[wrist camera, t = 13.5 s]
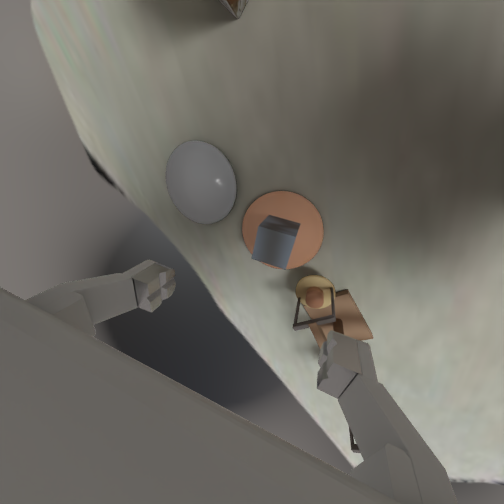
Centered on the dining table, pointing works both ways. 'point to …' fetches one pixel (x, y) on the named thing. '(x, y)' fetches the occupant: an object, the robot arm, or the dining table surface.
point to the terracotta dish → (290, 209)
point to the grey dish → (201, 182)
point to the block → (275, 241)
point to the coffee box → (234, 6)
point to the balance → (329, 314)
